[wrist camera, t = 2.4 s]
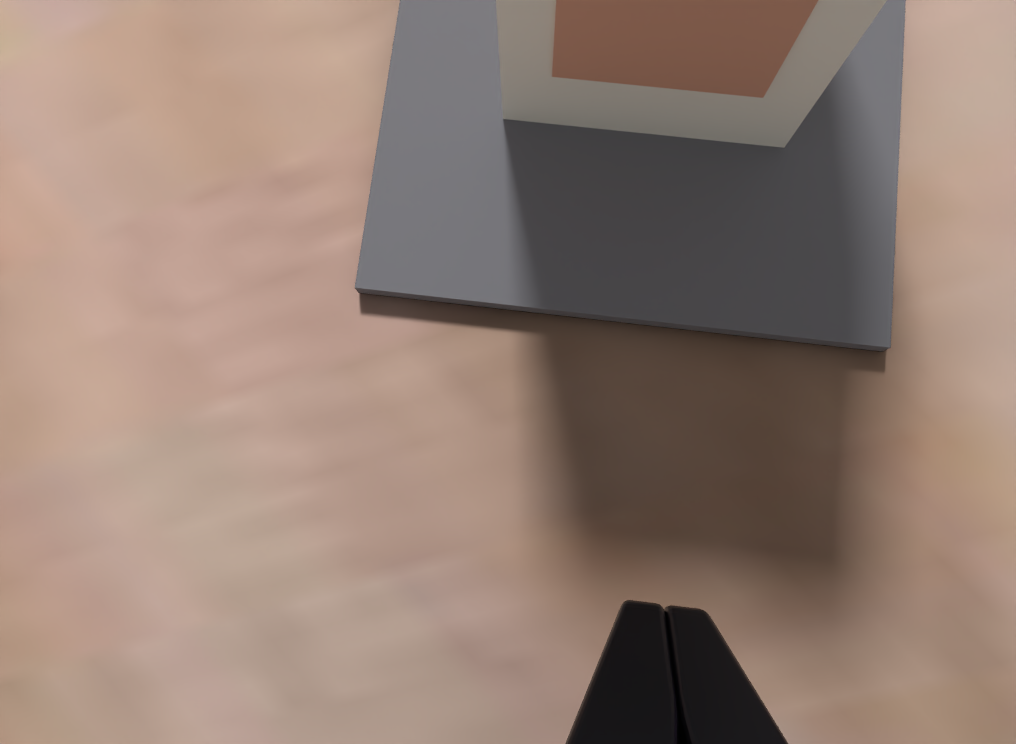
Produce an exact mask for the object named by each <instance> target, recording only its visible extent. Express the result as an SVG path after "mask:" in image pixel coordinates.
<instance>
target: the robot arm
mask: <svg viewBox="0 0 1016 744" xmlns="http://www.w3.org/2000/svg"><path fill="white" fill-rule="evenodd" d="M566 744H788V742H787V741H786V739H785V738H784V736H783V734H782V733H781V731H780V729H779V728H778V726H777V725H776V723H775V721H774V720H773V718H772V716H771V715H770V713H769V712H768V710H767V708H766V707H765V705H764V703H763V702H762V700H761V699H760V697H759V695H758V694H757V692H756V690H755V689H754V687H753V685H752V684H751V682H750V681H749V679H748V677H747V676H746V674H745V672H744V671H743V669H742V668H741V666H740V664H739V663H738V661H737V659H736V658H735V656H734V655H733V653H732V651H731V650H730V648H729V646H728V645H727V643H726V641H725V640H724V638H723V637H722V635H721V633H720V632H719V630H718V628H717V627H716V625H715V624H714V622H713V620H712V619H711V617H710V616H709V614H708V613H706V612H705V611H704V610H701V609H697V608H689V607H681V606H673V605H672V606H668V607H666V608H665V609H663V607H662V606H661V605H659V604H656V603H649V602H641V601H633V600H627V601H625V602H624V603H623V604H622V605H621V608H620V610H619V612H618V615H617V617H616V620H615V622H614V625H613V627H612V630H611V632H610V635H609V637H608V639H607V642H606V644H605V647H604V649H603V652H602V654H601V657H600V659H599V662H598V664H597V667H596V669H595V672H594V674H593V677H592V679H591V682H590V684H589V687H588V689H587V691H586V694H585V696H584V699H583V701H582V704H581V706H580V709H579V711H578V714H577V716H576V719H575V721H574V724H573V726H572V729H571V731H570V734H569V736H568V739H567V741H566Z"/></svg>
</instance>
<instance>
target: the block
mask: <svg viewBox="0 0 1016 744" xmlns="http://www.w3.org/2000/svg"><path fill="white" fill-rule="evenodd" d="M886 1H887V0H496V10H497V26H498V43H499V60H500V77H501V94H502V110H503V119H508V120H518V121H528V122H538V123H548V124H557V125H567V126H577V127H587V128H596V129H606V130H616V131H626V132H635V133H645V134H655V135H665V136H675V137H684V138H694V139H704V140H714V141H723V142H733V143H743V144H753V145H762V146H772V147H782V148H784V147H785V146H786V144H787V143H788V142H789V140H790V139H791V137H792V136H793V134H794V133H795V132H796V130H797V129H798V127H799V126H800V124H801V123H802V122H803V120H804V119H805V117H806V116H807V114H808V113H809V112H810V110H811V109H812V107H813V106H814V104H815V103H816V101H817V100H818V99H819V97H820V96H821V94H822V93H823V91H824V90H825V89H826V87H827V86H828V84H829V83H830V81H831V80H832V79H833V77H834V76H835V74H836V73H837V71H838V70H839V69H840V67H841V66H842V64H843V63H844V61H845V60H846V58H847V57H848V56H849V54H850V53H851V51H852V50H853V48H854V47H855V46H856V44H857V43H858V41H859V40H860V38H861V37H862V36H863V34H864V33H865V31H866V30H867V28H868V27H869V26H870V24H871V23H872V21H873V20H874V18H875V17H876V15H877V14H878V13H879V11H880V10H881V8H882V7H883V5H884V4H885V3H886Z"/></svg>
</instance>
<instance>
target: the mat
mask: <svg viewBox="0 0 1016 744" xmlns="http://www.w3.org/2000/svg"><path fill="white" fill-rule="evenodd" d="M905 1H906V0H887V1H886V3H885V4H884V5H883V7H882V8H881V10H880V11H879V13H878V14H877V15H876V17H875V18H874V20H873V21H872V23H871V24H870V26H869V27H868V28H867V30H866V31H865V33H864V34H863V36H862V37H861V38H860V40H859V41H858V43H857V44H856V46H855V47H854V48H853V50H852V51H851V53H850V54H849V56H848V57H847V58H846V60H845V61H844V63H843V64H842V66H841V67H840V69H839V70H838V71H837V73H836V74H835V76H834V77H833V79H832V80H831V81H830V83H829V84H828V86H827V87H826V89H825V90H824V91H823V93H822V94H821V96H820V97H819V99H818V100H817V101H816V103H815V104H814V106H813V107H812V109H811V110H810V112H809V113H808V114H807V116H806V117H805V119H804V120H803V122H802V123H801V124H800V126H799V127H798V129H797V130H796V132H795V133H794V134H793V136H792V137H791V139H790V140H789V142H788V143H787V144H786V146H785V147H784V148H782V147H772V146H762V145H753V144H743V143H733V142H723V141H714V140H704V139H694V138H684V137H675V136H665V135H655V134H645V133H635V132H626V131H616V130H606V129H596V128H587V127H577V126H567V125H557V124H548V123H538V122H528V121H518V120H508V119H503V110H502V94H501V77H500V60H499V43H498V26H497V10H496V0H400V4H399V11H398V17H397V23H396V30H395V36H394V42H393V49H392V55H391V61H390V68H389V74H388V80H387V87H386V93H385V99H384V106H383V112H382V118H381V125H380V131H379V137H378V144H377V150H376V156H375V163H374V169H373V175H372V182H371V188H370V194H369V201H368V207H367V213H366V220H365V226H364V232H363V239H362V245H361V251H360V258H359V264H358V270H357V277H356V283H355V289H356V290H357V291H358V293H365V294H374V295H383V296H392V297H401V298H410V299H419V300H428V301H437V302H446V303H454V304H463V305H472V306H481V307H490V308H499V309H508V310H517V311H526V312H535V313H544V314H552V315H561V316H570V317H579V318H588V319H597V320H606V321H615V322H624V323H633V324H641V325H650V326H659V327H668V328H677V329H686V330H695V331H704V332H713V333H722V334H731V335H739V336H748V337H757V338H766V339H775V340H784V341H793V342H802V343H811V344H820V345H828V346H837V347H846V348H855V349H864V350H873V351H884V350H887V349H889V348H891V325H892V302H893V279H894V256H895V233H896V210H897V186H898V163H899V140H900V117H901V94H902V70H903V47H904V24H905Z"/></svg>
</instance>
